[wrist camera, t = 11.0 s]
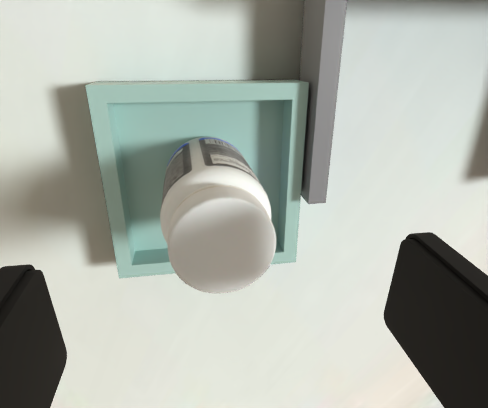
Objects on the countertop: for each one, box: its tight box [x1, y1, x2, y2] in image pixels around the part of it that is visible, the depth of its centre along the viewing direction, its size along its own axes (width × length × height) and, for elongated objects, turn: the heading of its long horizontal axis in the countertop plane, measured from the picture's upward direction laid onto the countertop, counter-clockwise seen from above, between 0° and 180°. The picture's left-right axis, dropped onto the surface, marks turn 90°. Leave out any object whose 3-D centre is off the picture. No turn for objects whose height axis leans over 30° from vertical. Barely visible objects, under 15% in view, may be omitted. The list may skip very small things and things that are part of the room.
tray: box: [85, 80, 309, 278], centre depth 19 cm, size 11×11×2 cm
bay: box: [299, 0, 347, 204], centre depth 18 cm, size 12×16×6 cm
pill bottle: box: [160, 137, 276, 293], centre depth 16 cm, size 5×5×8 cm
